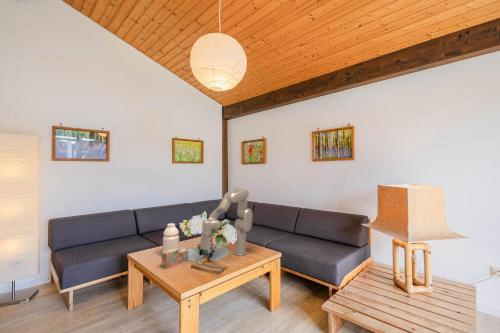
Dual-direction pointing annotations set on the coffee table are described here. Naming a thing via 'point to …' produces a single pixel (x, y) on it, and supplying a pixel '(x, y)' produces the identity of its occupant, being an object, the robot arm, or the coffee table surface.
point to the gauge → (204, 259)
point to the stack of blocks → (174, 257)
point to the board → (209, 267)
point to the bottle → (170, 237)
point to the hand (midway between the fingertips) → (205, 256)
